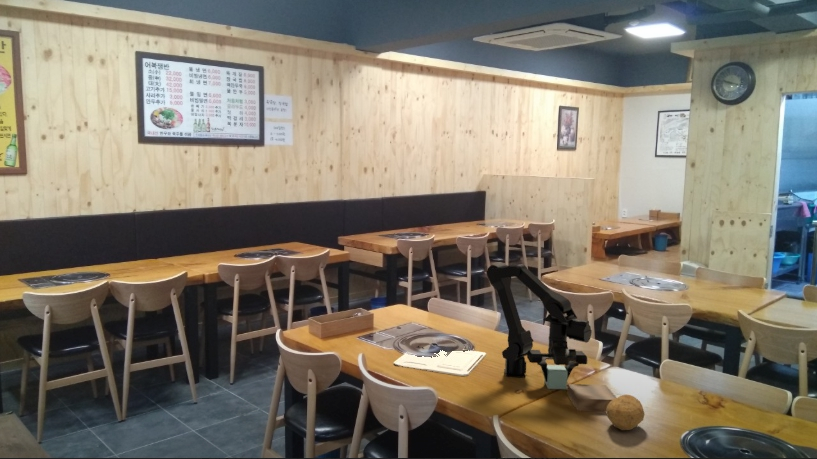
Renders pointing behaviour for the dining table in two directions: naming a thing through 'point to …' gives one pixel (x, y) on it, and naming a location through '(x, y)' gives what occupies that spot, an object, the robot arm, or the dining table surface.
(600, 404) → the walnut block
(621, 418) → the potato
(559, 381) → the teal cube
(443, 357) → the tray
